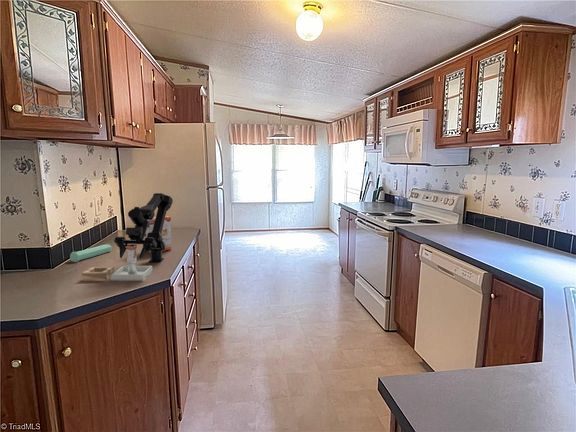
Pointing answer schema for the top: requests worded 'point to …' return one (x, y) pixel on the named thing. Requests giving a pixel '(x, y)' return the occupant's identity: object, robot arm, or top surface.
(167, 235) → the cracker box
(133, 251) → the clear tall cylinder
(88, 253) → the container
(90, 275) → the socket block
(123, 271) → the tray
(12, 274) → the top surface
